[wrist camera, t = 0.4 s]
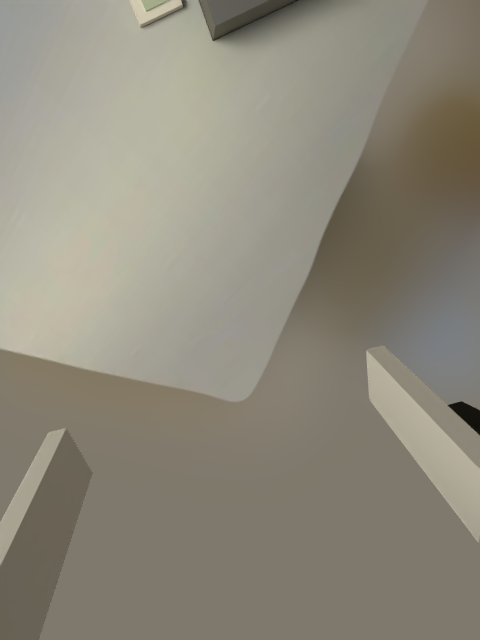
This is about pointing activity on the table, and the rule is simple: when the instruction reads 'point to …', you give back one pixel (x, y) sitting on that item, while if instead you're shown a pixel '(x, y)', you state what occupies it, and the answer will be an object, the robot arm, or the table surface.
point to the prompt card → (153, 9)
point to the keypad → (236, 13)
